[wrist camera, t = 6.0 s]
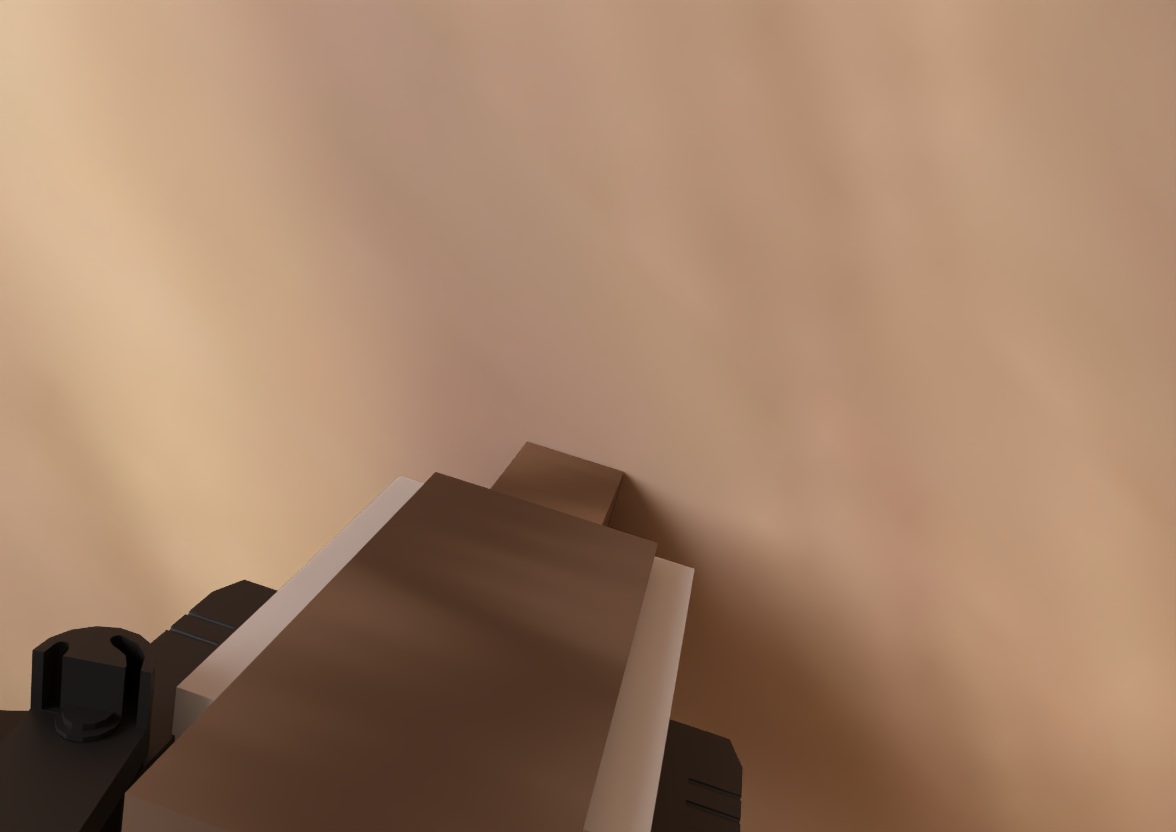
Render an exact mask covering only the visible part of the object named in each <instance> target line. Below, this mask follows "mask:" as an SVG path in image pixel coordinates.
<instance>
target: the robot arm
mask: <svg viewBox="0 0 1176 832" xmlns="http://www.w3.org/2000/svg"><path fill="white" fill-rule="evenodd" d="M423 485H424V483H421V482H418V481H415V480H412V479H409V478H405V477H402V476H399V477H398V478H397V479H396V480H395V481H393V482H392V483H391V484H390V485H389V486H388V487H387V488H386V489H385V490H384V491H383V492H382V493H381V494H380V495H379V496H378V497H377V498H376V499H374V500H373V501H372V502H371V503H370V504H369V505H368V506H367V507H366V508H365V509H364V510H363V511H362V512H361V513H360V514H359V515H358V516H357V517H355V518H354V519H353V520H352V521H351V522H350V523H349V524H348V525H347V526H346V527H345V528H344V529H343V530H342V531H341V532H340V533H339V534H338V535H336V536H335V537H334V538H333V539H332V540H331V541H330V542H329V543H328V544H327V545H326V546H325V547H324V548H323V549H322V550H321V551H320V552H319V553H317V554H316V555H315V556H314V557H313V558H312V559H311V560H310V561H309V562H308V563H307V564H306V565H305V566H304V567H303V568H302V569H301V570H300V571H298V572H297V573H296V574H295V575H294V576H293V577H292V578H291V579H290V580H289V581H288V582H287V583H286V584H285V585H284V586H283V587H282V588H280V589H279V590H278V591H277V590H274V589H271V588H268V587H265V586H262V585H259V584H256V583H253V582H250V581H247V580H242V581H239V582H237V583H234V584H232V585H229V586H226V587H224V588H221V589H219V590H216V591H213V592H212V593H210V594H209V595H208V596H207V597H206V598H204V599H203V600H202V601H201V602H200V603H198V604H197V605H196V606H195V607H194V608H192V609H191V610H190V612H189V614H188V615H186V614H185V615H184V616H183V617H182V618H181V619H179V620H178V621H177V622H176V623H175V624H173V625H172V626H171V629H170V630H169V631H168V630H166V631H165V632H164V633H163V634H161V635H160V636H159V637H158V638H157V639H155V640H154V641H153V642H152V643H151V644H150V643H149V642H148V641H147V640H146V639H144V638H143V637H142V636H141V635H139V634H136V633H133V632H130V631H127V630H124V629H121V628H112V627H99V626H96V627H88V628H81V629H73V630H70V631H67V632H64V633H62V634H59V635H56V636H53V637H51V638H49V639H47V640H46V641H45V642H43V643H42V644H40V645H39V646H38V647H36V648H35V649H33V653H32V682H31V709H30V710H29V711H6V710H0V832H121V831H122V821H123V810H124V799H125V793H126V792H127V790H128V789H129V788H130V787H131V786H132V785H133V784H134V783H135V782H136V781H137V780H138V779H139V778H140V777H141V776H142V775H143V774H144V773H145V772H146V771H147V770H148V769H149V768H150V767H151V766H152V765H153V764H154V763H155V762H156V761H157V759H158V758H159V757H160V756H161V755H162V754H163V753H164V752H165V751H166V750H167V749H168V748H169V747H170V746H171V745H172V744H173V743H174V742H175V741H176V740H177V739H178V738H179V737H180V736H181V735H182V734H183V733H184V732H185V731H186V730H187V728H188V727H189V726H190V725H191V724H192V723H193V722H194V721H195V720H196V719H197V718H198V717H199V716H200V715H201V714H202V713H203V712H204V711H205V710H206V709H207V708H208V707H209V706H210V705H211V704H212V703H213V702H214V701H215V700H216V698H217V697H218V696H219V695H220V694H221V693H222V692H223V691H224V690H225V689H226V688H227V687H228V686H229V685H230V684H231V683H232V682H233V681H234V680H235V679H236V678H237V677H238V676H239V675H240V674H241V673H242V672H243V671H244V670H245V669H246V667H247V666H248V665H249V664H250V663H251V662H252V661H253V660H254V659H255V658H256V657H257V656H258V655H259V654H260V653H261V652H262V651H263V650H264V649H265V648H266V647H267V646H268V645H269V644H270V643H271V642H272V641H273V640H274V639H275V638H276V636H277V635H278V634H279V633H280V632H281V631H282V630H283V629H284V628H285V627H286V626H287V625H288V624H289V623H290V622H291V621H292V620H293V619H294V618H295V617H296V616H297V615H298V614H299V613H300V612H301V611H302V610H303V609H304V608H305V606H306V605H307V604H308V603H309V602H310V601H311V600H312V599H313V598H314V597H315V596H316V595H317V594H318V593H319V592H320V591H321V590H322V589H323V588H324V587H325V586H326V585H327V584H328V583H329V582H330V581H331V580H332V579H333V578H334V577H335V575H336V574H337V573H338V572H339V571H340V570H341V569H342V568H343V567H344V566H345V565H346V564H347V563H348V562H349V561H350V560H351V559H352V558H353V557H354V556H355V555H356V554H357V553H358V552H359V551H360V550H361V549H362V548H363V547H364V546H365V544H366V543H367V542H368V541H369V540H370V539H371V538H372V537H373V536H374V535H375V534H376V533H377V532H378V531H379V530H380V529H381V528H382V527H383V526H384V525H385V524H386V523H387V522H388V521H389V520H390V519H391V518H392V517H393V516H394V514H395V513H396V512H397V511H398V510H399V509H400V508H401V507H402V506H403V505H404V504H405V503H406V502H407V501H408V500H409V499H410V498H411V497H412V496H413V495H414V494H415V493H416V492H417V491H418V490H419V489H420V488H421V487H422V486H423ZM694 570H695V569H694V568H690V567H687V566H684V565H681V564H678V563H675V562H671V561H668V560H665V559H662V558H659V557H656V556H655V558H654V561H653V565H652V569H651V573H650V577H649V581H648V584H647V588H646V592H645V596H644V600H643V603H642V607H641V611H640V615H639V619H638V622H637V626H636V630H635V634H634V638H633V641H632V645H631V649H630V653H629V657H628V660H627V664H626V668H625V672H624V676H623V679H622V683H621V687H620V691H619V695H618V698H617V702H616V706H615V710H614V714H613V717H612V721H611V725H610V729H609V733H608V737H607V740H606V744H605V748H604V752H603V756H602V759H601V763H600V767H599V771H598V775H597V778H596V782H595V786H594V790H593V794H592V797H591V801H590V805H589V809H588V813H587V816H586V820H585V824H584V828H583V832H740V824H739V821H740V815H741V801H740V798H741V791H742V766H741V764H740V761H739V759H738V757H737V755H736V753H735V750H734V748H733V746H732V744H731V741H730V739H727V738H724V737H721V736H718V735H715V734H712V733H709V732H706V731H703V730H700V729H697V728H694V727H691V726H688V725H685V724H682V723H679V722H676V721H673V720H670V713H671V707H672V701H673V695H674V689H675V683H676V677H677V671H678V665H679V659H680V653H681V647H682V641H683V636H684V630H685V624H686V618H687V612H688V606H689V600H690V594H691V588H692V582H693V576H694Z"/></svg>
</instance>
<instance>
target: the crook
mask: <svg viewBox="0 0 1176 832" xmlns="http://www.w3.org/2000/svg"><path fill="white" fill-rule="evenodd" d="M623 473H624V472H622V471H618V470H615V469H612V468H609V467H606V466H602V465H599V464H596V463H593V462H590V461H586V460H583V459H580V458H577V457H574V456H570V455H567V454H564V453H561V452H558V451H554V450H551V449H548V448H545V447H542V446H538V445H535V444H532V443H529V442H526V444H525V445H524V446H523V447H522V449H521V450H520V451H519V453H518V454H517V455H516V457H515V458H514V459H513V460H512V462H511V463H510V464H509V466H508V467H507V468H506V470H505V471H504V472H503V474H502V475H501V476H500V477H499V479H498V480H497V481H496V483H495V484H494V485H493V487H492V488H491V489H487V488H484V487H481V486H478V485H475V484H472V483H469V482H466V481H462V480H459V479H456V478H453V477H450V476H447V475H444V474H440V473H437V472H435V473H434V474H433V475H432V476H431V477H430V478H429V479H428V480H427V481H426V482H425V483H424V485H423V486H422V487H421V488H420V489H419V490H418V491H417V492H416V493H415V494H414V495H413V496H412V497H411V498H410V499H409V500H408V501H407V502H406V503H405V504H404V505H403V506H402V507H401V508H400V509H399V510H398V511H397V512H396V513H395V514H394V516H393V517H392V518H391V519H390V520H389V521H388V522H387V523H386V524H385V525H384V526H383V527H382V528H381V529H380V530H379V531H378V532H377V533H376V534H375V535H374V536H373V537H372V538H371V539H370V540H369V541H368V542H367V543H366V544H365V546H364V547H363V548H362V549H361V550H360V551H359V552H358V553H357V554H356V555H355V556H354V557H353V558H352V559H351V560H350V561H349V562H348V563H347V564H346V565H345V566H344V567H343V568H342V569H341V570H340V571H339V572H338V573H337V574H336V575H335V577H334V578H333V579H332V580H331V581H330V582H329V583H328V584H327V585H326V586H325V587H324V588H323V589H322V590H321V591H320V592H319V593H318V594H317V595H316V596H315V597H314V598H313V599H312V600H311V601H310V602H309V603H308V604H307V605H306V606H305V608H304V609H303V610H302V611H301V612H300V613H299V614H298V615H297V616H296V617H295V618H294V619H293V620H292V621H291V622H290V623H289V624H288V625H287V626H286V627H285V628H284V629H283V630H282V631H281V632H280V633H279V634H278V635H277V636H276V638H275V639H274V640H273V641H272V642H271V643H270V644H269V645H268V646H267V647H266V648H265V649H264V650H263V651H262V652H261V653H260V654H259V655H258V656H257V657H256V658H255V659H254V660H253V661H252V662H251V663H250V664H249V665H248V666H247V667H246V669H245V670H244V671H243V672H242V673H241V674H240V675H239V676H238V677H237V678H236V679H235V680H234V681H233V682H232V683H231V684H230V685H229V686H228V687H227V688H226V689H225V690H224V691H223V692H222V693H221V694H220V695H219V696H218V697H217V698H216V700H215V701H214V702H213V703H212V704H211V705H210V706H209V707H208V708H207V709H206V710H205V711H204V712H203V713H202V714H201V715H200V716H199V717H198V718H197V719H196V720H195V721H194V722H193V723H192V724H191V725H190V726H189V727H188V728H187V730H186V731H185V732H184V733H183V734H182V735H181V736H180V737H179V738H178V739H177V740H176V741H175V742H174V743H173V744H172V745H171V746H170V747H169V748H168V749H167V750H166V751H165V752H164V753H163V754H162V755H161V756H160V757H159V758H158V759H157V761H156V762H155V763H154V764H153V765H152V766H151V767H150V768H149V769H148V770H147V771H146V772H145V773H144V774H143V775H142V776H141V777H140V778H139V779H138V780H137V781H136V782H135V783H134V784H133V785H132V786H131V787H130V788H129V789H128V790H127V792H126V793H125V799H124V810H123V821H122V831H121V832H583V828H584V824H585V820H586V816H587V813H588V809H589V805H590V801H591V797H592V794H593V790H594V786H595V782H596V778H597V775H598V771H599V767H600V763H601V759H602V756H603V752H604V748H605V744H606V740H607V737H608V733H609V729H610V725H611V721H612V717H613V714H614V710H615V706H616V702H617V698H618V695H619V691H620V687H621V683H622V679H623V676H624V672H625V668H626V664H627V660H628V657H629V653H630V649H631V645H632V641H633V638H634V634H635V630H636V626H637V622H638V619H639V615H640V611H641V607H642V603H643V600H644V596H645V592H646V588H647V584H648V581H649V577H650V573H651V569H652V565H653V561H654V558H655V554H656V550H657V546H658V543H657V542H653V541H650V540H647V539H644V538H641V537H638V536H635V535H632V534H628V533H625V532H622V531H619V530H616V529H613V528H610V527H608V524H609V521H610V517H611V514H612V511H613V507H614V504H615V500H616V497H617V493H618V490H619V487H620V483H621V480H622V476H623Z"/></svg>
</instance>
